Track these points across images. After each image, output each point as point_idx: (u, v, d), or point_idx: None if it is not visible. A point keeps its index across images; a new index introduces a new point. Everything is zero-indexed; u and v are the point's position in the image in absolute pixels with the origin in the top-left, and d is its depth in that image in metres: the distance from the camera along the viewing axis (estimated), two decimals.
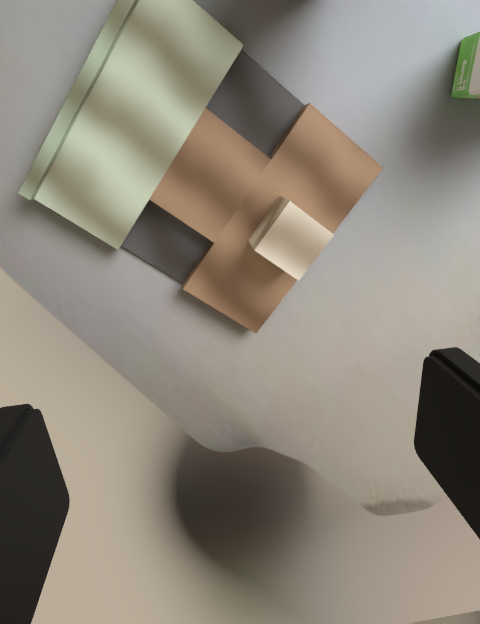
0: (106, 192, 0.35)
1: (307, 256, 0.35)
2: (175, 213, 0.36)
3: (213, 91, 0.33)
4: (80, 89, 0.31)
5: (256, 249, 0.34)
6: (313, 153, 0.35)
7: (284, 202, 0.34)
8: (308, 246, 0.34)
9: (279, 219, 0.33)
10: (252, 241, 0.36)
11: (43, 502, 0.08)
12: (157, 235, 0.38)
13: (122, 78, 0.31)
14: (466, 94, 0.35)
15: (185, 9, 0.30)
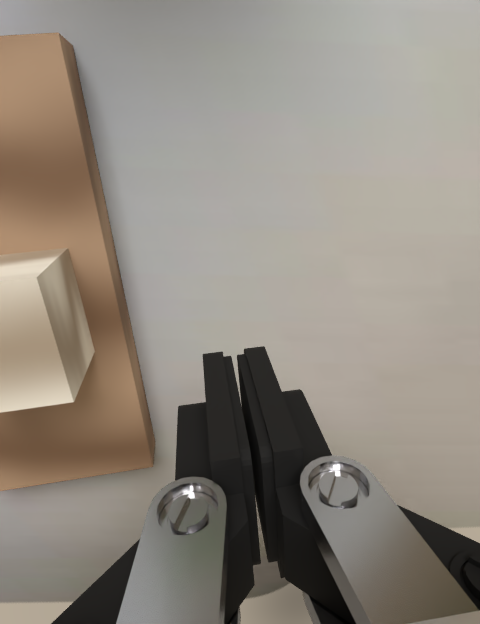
0: None
1: (36, 354, 0.14)
2: None
3: None
4: None
5: None
6: None
7: None
8: (15, 338, 0.14)
9: None
10: None
11: None
12: None
13: None
14: None
15: None
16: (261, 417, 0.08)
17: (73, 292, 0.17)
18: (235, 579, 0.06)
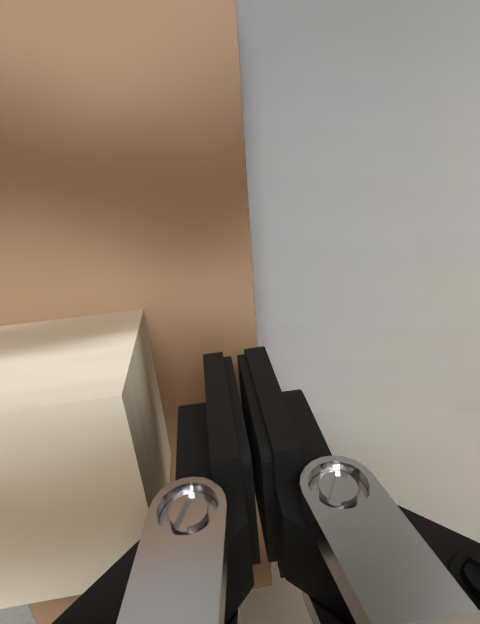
0: None
1: (111, 516, 0.08)
2: None
3: None
4: None
5: None
6: None
7: None
8: (76, 494, 0.08)
9: None
10: None
11: None
12: None
13: None
14: None
15: None
16: (261, 417, 0.08)
17: (151, 379, 0.11)
18: (235, 579, 0.06)
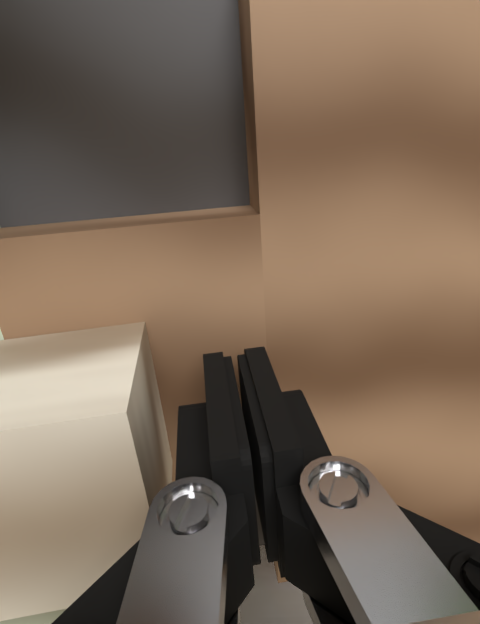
0: None
1: (115, 528, 0.08)
2: None
3: None
4: None
5: None
6: (372, 89, 0.09)
7: None
8: (82, 507, 0.08)
9: None
10: None
11: None
12: None
13: None
14: None
15: None
16: (261, 417, 0.08)
17: (153, 390, 0.11)
18: (235, 579, 0.06)
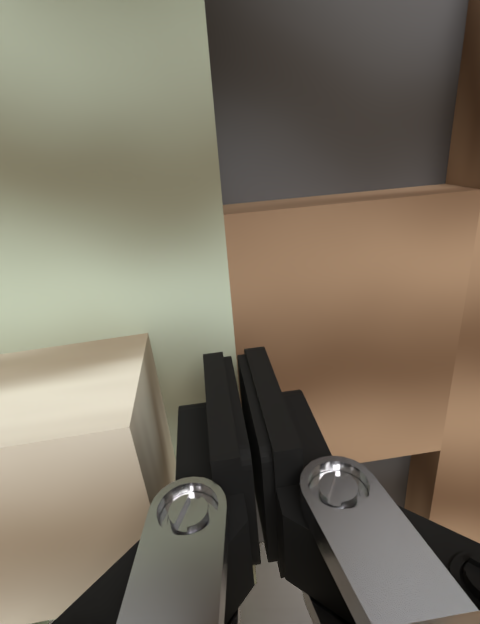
0: None
1: (121, 538, 0.08)
2: None
3: (213, 157, 0.09)
4: None
5: None
6: None
7: None
8: (88, 518, 0.08)
9: None
10: None
11: None
12: None
13: None
14: None
15: None
16: (261, 417, 0.08)
17: (157, 400, 0.11)
18: (235, 579, 0.06)
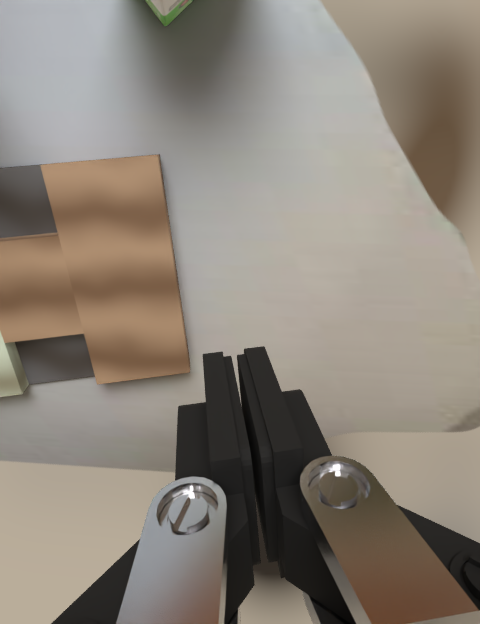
0: None
1: None
2: (33, 336, 0.36)
3: None
4: None
5: None
6: (85, 199, 0.32)
7: None
8: None
9: None
10: None
11: None
12: (45, 357, 0.38)
13: None
14: (165, 17, 0.28)
15: None
16: (261, 417, 0.08)
17: None
18: (235, 579, 0.06)
